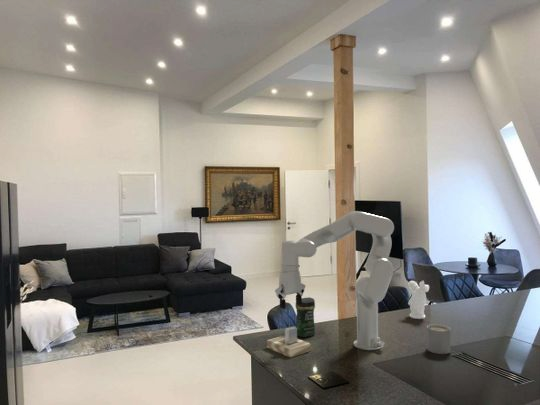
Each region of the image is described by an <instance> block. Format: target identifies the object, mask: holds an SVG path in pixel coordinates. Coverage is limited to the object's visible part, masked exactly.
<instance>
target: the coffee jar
mask: <svg viewBox="0 0 540 405" xmlns="http://www.w3.org/2000/svg"><path fill="white" fill-rule="evenodd" d="M295 308H296V320H295V322H296V323H295V327H296V328H297V337H302V338H307V336H308V337H313V336H315V335H316V329H315V328H316V327H315V314H314V313H315V308H316V301H315V298H314V297H313V298H312V297H302V305H299V304H296V303H295ZM312 335H313V336H312Z"/></svg>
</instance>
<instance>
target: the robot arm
mask: <svg viewBox="0 0 540 405" xmlns="http://www.w3.org/2000/svg"><path fill="white" fill-rule="evenodd" d="M394 230H395V225H394V222H393V221H392V220H391V219H389V218H387V217H383V216H379V215H375V214H371V213H369V212H368V213H367V212H364V211H359V210H353V211H351V212H348V213H347V214H345V215H343V216H341V217H339V218H338V219H337V220H335V221H333V222H331V223H329V224H327V225H325V226H323V227H320V228H319V229H317V230H314V231H312V232H311V233H309V234H307V235H305V236H303V237H302V238H300V239H299V240H298V241H296V240H284V241H283V242H282V243H281V271H280V273H279V282H278V287H277V288H276V289H275V290H274V292H275V294H276V297H277V299H279V308H280V309H282V310H285V309H287V307H286V297H287V295H289V296H290V295H293V294H296V295H295V305H296V304H299V305H302V298H303V295H304V292H305V289H306V285H305V284H304V283H302V278H301V272H300V270H299V269H300V262H299V261H300V260H299V258H312V257H314V256H315V254H316V253H317V249H318V248H319V247H321V246H323V245H326V244H332V243H336V242H338V241H341V240H342V239H344V238H345V237H347V236H349V235H351V234H353V233H354V232H356V231H359V232H363V233H365V234H371V236H372V245H371V249H370V252H369V254H368V257H367V259H366V262H365V266H364V268H365V272H366V273H367V274H369V277H368V276H364V277H360V278H359V279H358V280H357V281H356V283H355V288H354V290H355V291H354V292H355V299H356V340H354V341H353V346H354V347H355V348H357V349H360V350H362V351H363V350H364V351H377V350H380V349H381V348H384V346H385V342H384V341H381V337H379V304H378V303H380V302H382V300H383V299H385V296H386V294H387V292H388V289H389V287H390V283H391V281H392V279H393V275H394V266H393V264H392V262H391V261H390V260H389V257H390V254H391V249H392V244H393V243H392V242H393V241H392V237H391V235H392V234H393V232H394Z"/></svg>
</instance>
